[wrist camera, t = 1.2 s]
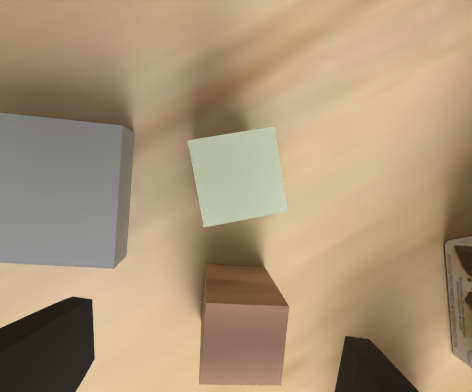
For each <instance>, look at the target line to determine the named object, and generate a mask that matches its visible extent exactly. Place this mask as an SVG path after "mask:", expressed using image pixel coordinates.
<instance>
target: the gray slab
mask: <svg viewBox="0 0 472 392" xmlns="http://www.w3.org/2000/svg"><path fill="white" fill-rule="evenodd" d="M133 147H134V132H133V131H131V130H130V129H128V128H126V127H125V126H123V125H114V124H105V123H95V122H86V121H76V120H67V119H57V118H48V117H38V116H29V115H19V114H9V113H0V263H16V264H35V265H54V266H73V267H93V268H112V269H114V268H115V267H116V266H117V265H118V264H119V263H120V262H121V261H122V260H123V259H124V258H125V257H126V254H127V238H128V223H129V208H130V192H131V177H132V162H133Z"/></svg>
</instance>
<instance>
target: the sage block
mask: <svg viewBox="0 0 472 392" xmlns="http://www.w3.org/2000/svg"><path fill="white" fill-rule="evenodd" d="M188 146H189V151H190V157H191V162H192V167H193V173H194V178H195V183H196V189H197V194H198V200H199V205H200V210H201V216H202V221H203V226H204V227H209V226H215V225H220V224H225V223H230V222H236V221H241V220H246V219H251V218H257V217H262V216H267V215H272V214H278V213H283V212H288V209H287V203H286V196H285V190H284V184H283V177H282V171H281V165H280V158H279V152H278V146H277V139H276V133H275V127H274V126H273V127H267V128H261V129H254V130H248V131H242V132H236V133H230V134H224V135H217V136H211V137H205V138H199V139H193V140H188Z"/></svg>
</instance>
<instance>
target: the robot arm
mask: <svg viewBox="0 0 472 392" xmlns="http://www.w3.org/2000/svg"><path fill="white" fill-rule="evenodd" d="M94 359H95V357H94V333H93V309H92V299H85V298H78V297H70V298H68V299H65V300H62V301H60V302H58V303H55V304H53V305H51V306H48V307H46V308H44V309H42V310H39V311H37V312H35V313H33V314H31V315H28V316H26V317H24V318H22V319H20V320H17V321H15V322H13V323H11V324H9V325H6V326H4V327H2V328H0V392H76V390H77V388H78V387H79V385H80V383H81V382H82V380H83V378H84V377H85V375H86V373H87V371H88V370H89V368H90V366H91V364H92V362H93V361H94ZM335 392H419V391H418V390H417V389H416V388H415V387H414V386H413V385H412V384H411V383H410V382H409V381H408V380H407V379H406V378H405V377H404V376H403V374H402V373H401V372H400V371H399V370H398V369H397V368H396V367H395V366H394V365H393V364H392V363H391V362H390V361H389V359H388V358H387V357H386V356H385V355H384V354H383V353H382V352H381V351H380V350H379V349H378V348H377V347H376V346H375V345H374V344H373V343H372V342H371V341H370V340H369V339H363V338H356V337H350V336H346V337H345V342H344V347H343V352H342V357H341V363H340V368H339V373H338V378H337V383H336V388H335Z"/></svg>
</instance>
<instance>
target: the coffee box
mask: <svg viewBox="0 0 472 392" xmlns="http://www.w3.org/2000/svg"><path fill="white" fill-rule="evenodd" d="M445 255H446V266H447V280H448V293H449V306H450V319H451V333H452V347H453V354H454V356H456V357H457V358H459V359H460V360H461V361H463V362H464V363H465V364H467V365H468V366H469V367H471V368H472V236H470V237H464V238H458V239H453V240H449V241H447V242H446V243H445Z"/></svg>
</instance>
